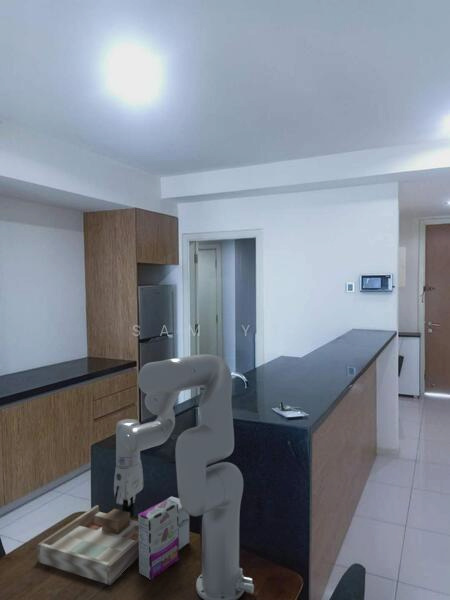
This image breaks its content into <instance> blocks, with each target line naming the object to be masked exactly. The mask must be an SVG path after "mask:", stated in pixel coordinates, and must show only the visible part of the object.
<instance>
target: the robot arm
mask: <svg viewBox="0 0 450 600" xmlns="http://www.w3.org/2000/svg"><path fill="white" fill-rule="evenodd" d="M137 383H138V387H139V389H140V391H142V392H143V393H144V394H146V395H145V397H144V405H145V407H146V408H147V410H148V411H149V412H150V413H152V414H153V415H155V416H157V417H156V419H155V420H154V421H149V422H146V423H143V424H141V423H140V422H139V421H138V420H137V419H132V418H127V419H126V418H125V419H121V420H119V421H118V422H117V423H116V426H115V443H116V444H115V449H116V450H115V465H116V466H115V471H114V480H113V493H114V494H113V495H114V498H116V500H115V501H116V503H115V504H117V505H122V511H126V512H130V519H132V517H133V516H135V504H134V503H135V502H136V496H137V494H138V493H140V492H141V491H142V490H143V488H144V472H143V465H142V460H141V451H144V450H147V449H151V448H153V447H157V446H160V445H162V444H164V443H165V442H167V441H168V439H169V438H170V436H171V434H172V433H173V431H174V428H175V426H176V415H175V411H174V408H173V407H174V406H175V404H176V401H177V400H178V397H179V396H180V393H181V392H184V391H189V390H194V389H198V388H201V387H203V388H204V391H203V392H202V395H201V397H200V400H199V405H198V412H199V414H198V415H199V424H198V425H197V426H194V427H190V428H187V429H186V430H184V431H183V432H181V434H180V435H179V436H178V438H177V440H176V443H175V449H174V451H175V469H176V471H175V472H176V484H177V494H178V498H179V500H180V503H181V506H182V508H183V509H184V511H185V512H186V513H187V514H189V516H191V517H199V516H202V518H201V519H202V521H201V573H200V575H199V576H198V577H197V578H196V582H195V591H196V593H197V594H198V596H199V597H200V599H203V600H238V599H239V598H240V597H242V595H243V594H244V592H246V593H250V594H254V589H255V584H253V577H249V576H245V575H244V574H243V569H244V568H242V567H240V511H241V503H242V502H241V501H242V497H243V492H244V478H243V474H242V471H240V469H239V468H238V466H237V465H235V464H234V463H231V462H228V461H225V462H223V461H222V462H219V461H221V460H224V459H226V458H228V457H230V456H231V455H232V453H233V452H234V449H235V431H234V419H233V418H234V417H233V408H232V407H233V406H232V393H233V377H232V372H231V369H230V367H229V365H228V364H227V362H226V361H225V360H224V358H222V357H220V356H218V355H216V354H215V355H214V354H207V353H206V354H205V353H204V354H195V355H190V356H189V355H188V356H182V357H181V356H180V357H175V358H170V359H165V360H160V361H153V362H152V361H151V362H147V363H145V364H144V365H143V366H142V367H141V368H140V369H139V372H138V375H137ZM217 462H219V463H217ZM214 463H215V464H214ZM210 464H211V465H210ZM208 465H209V466H208Z"/></svg>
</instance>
